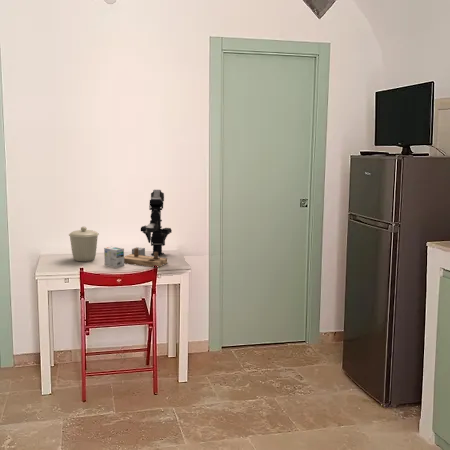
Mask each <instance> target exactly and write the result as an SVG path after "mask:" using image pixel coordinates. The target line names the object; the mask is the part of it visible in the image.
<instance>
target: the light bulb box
mask: <svg viewBox="0 0 450 450" xmlns="http://www.w3.org/2000/svg"><path fill="white" fill-rule="evenodd" d="M103 249H104V252H103V253H104V255H103V256H104V265H105V266H108V267H113V268H120V267H124V266H125V263H124V257H125V248H122V247H118V246H113V245H110V246H108V247H107V246H106V247H103Z"/></svg>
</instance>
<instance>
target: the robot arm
mask: <svg viewBox="0 0 450 450" xmlns="http://www.w3.org/2000/svg"><path fill="white" fill-rule="evenodd" d="M164 202H165V193H164V192H162V189H152V192H151V193H150V199H149V208H148V209H149V211H150V221H149V223H148V224H147V225H142V226H141V227H140V232H142V233H143V234H145V236H146V239H147V242H148V243H149V244H150V246H151V247H152V253H150V256H151V255H152V256H154V252H158V257H159V256H162V255H164V254H165V253H164V252H163V247H164V246H166V240H167V237H168V235H170V234H171V233H172V228H171V227H164V228H163V226H162V225H161V224H162V221H163V220H162V218H161V217H162V211H163V209H164Z"/></svg>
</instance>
